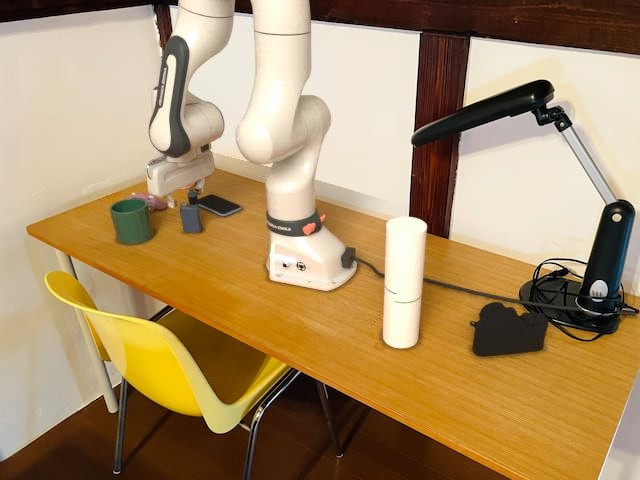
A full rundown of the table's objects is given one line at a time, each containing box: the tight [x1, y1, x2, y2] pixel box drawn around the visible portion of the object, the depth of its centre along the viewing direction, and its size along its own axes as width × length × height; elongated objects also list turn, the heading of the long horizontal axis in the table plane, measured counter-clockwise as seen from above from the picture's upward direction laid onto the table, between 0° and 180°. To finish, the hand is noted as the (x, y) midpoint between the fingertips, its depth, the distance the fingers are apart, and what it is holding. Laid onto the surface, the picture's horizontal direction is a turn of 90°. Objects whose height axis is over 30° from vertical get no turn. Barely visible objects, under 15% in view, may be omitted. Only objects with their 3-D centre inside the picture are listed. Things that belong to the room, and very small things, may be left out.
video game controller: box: [127, 192, 167, 213], centre depth 155 cm, size 10×5×7 cm, turn 73°
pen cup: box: [108, 198, 155, 246], centre depth 140 cm, size 9×9×9 cm
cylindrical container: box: [382, 216, 428, 349], centre depth 100 cm, size 7×7×25 cm
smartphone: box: [198, 193, 243, 217], centre depth 158 cm, size 7×1×15 cm
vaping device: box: [179, 188, 203, 234], centre depth 142 cm, size 3×5×12 cm, turn 89°
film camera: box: [469, 301, 550, 358], centre depth 104 cm, size 15×10×9 cm, turn 98°
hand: (186, 200), depth 141 cm, fingers open, 8 cm apart
